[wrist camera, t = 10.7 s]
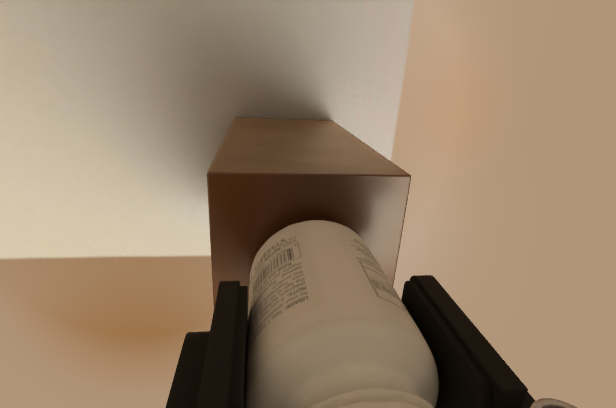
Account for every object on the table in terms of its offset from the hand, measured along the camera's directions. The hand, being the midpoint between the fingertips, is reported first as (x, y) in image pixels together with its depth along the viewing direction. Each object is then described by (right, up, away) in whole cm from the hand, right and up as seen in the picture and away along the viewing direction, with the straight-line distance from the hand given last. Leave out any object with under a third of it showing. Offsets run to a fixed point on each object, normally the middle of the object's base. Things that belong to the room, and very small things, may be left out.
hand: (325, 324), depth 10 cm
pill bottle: (0, +1, +3) cm, 3 cm away
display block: (-2, +6, +16) cm, 17 cm away
